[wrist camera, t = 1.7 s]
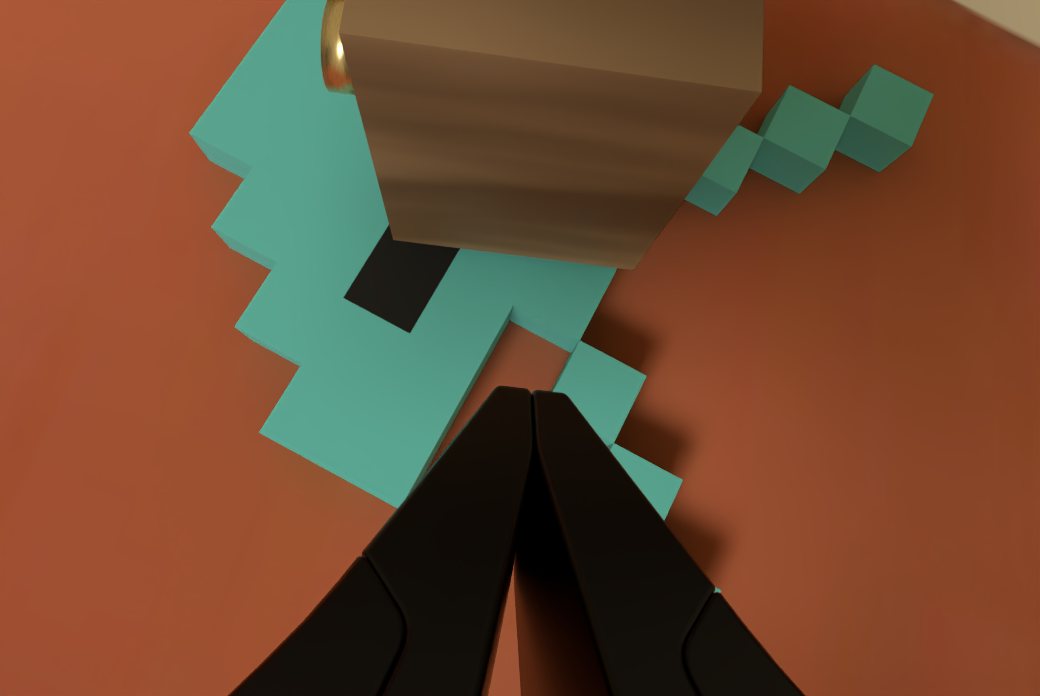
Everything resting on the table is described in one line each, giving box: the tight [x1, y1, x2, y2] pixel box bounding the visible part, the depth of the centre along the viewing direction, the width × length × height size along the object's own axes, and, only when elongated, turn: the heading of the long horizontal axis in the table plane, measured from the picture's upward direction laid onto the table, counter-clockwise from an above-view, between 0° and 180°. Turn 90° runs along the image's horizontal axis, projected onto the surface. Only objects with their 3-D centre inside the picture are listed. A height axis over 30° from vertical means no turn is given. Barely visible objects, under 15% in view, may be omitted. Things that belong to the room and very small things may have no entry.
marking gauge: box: [321, 0, 764, 270], centre depth 17 cm, size 8×8×9 cm
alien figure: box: [190, 0, 934, 593], centre depth 23 cm, size 20×2×20 cm
